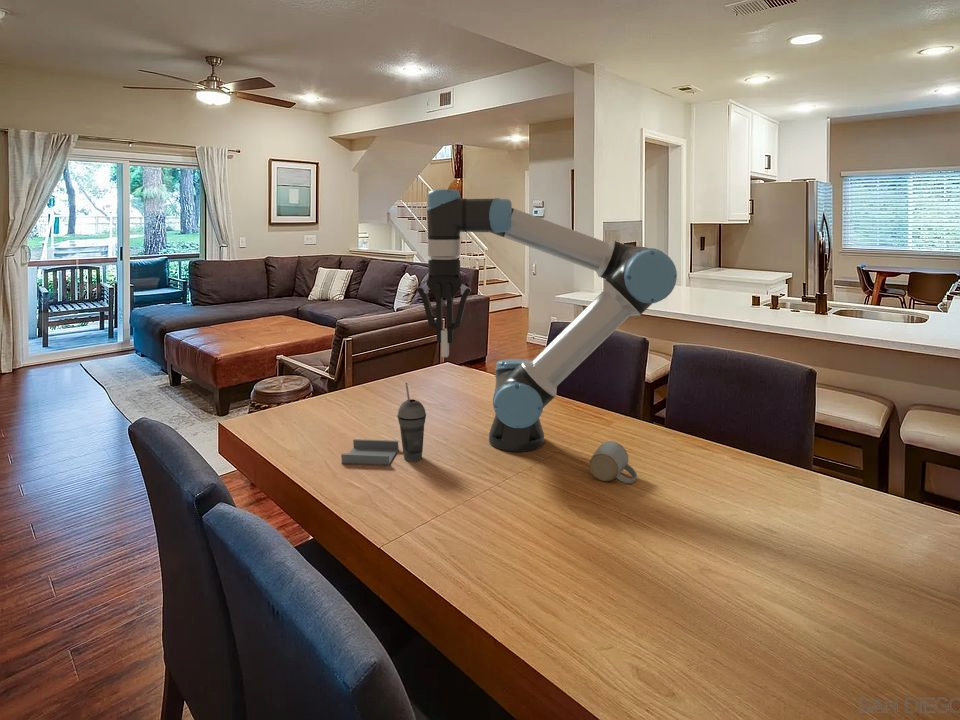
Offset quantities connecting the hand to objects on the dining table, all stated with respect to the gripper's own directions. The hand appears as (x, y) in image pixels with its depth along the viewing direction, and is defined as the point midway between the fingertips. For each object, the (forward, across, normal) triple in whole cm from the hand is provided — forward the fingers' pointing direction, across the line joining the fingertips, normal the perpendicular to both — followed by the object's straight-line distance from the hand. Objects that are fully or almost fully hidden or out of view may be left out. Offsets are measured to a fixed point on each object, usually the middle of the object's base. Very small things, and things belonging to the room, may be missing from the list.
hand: (445, 355), depth 143 cm
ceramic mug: (+27, -41, +6) cm, 50 cm away
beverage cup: (+27, +9, 0) cm, 29 cm away
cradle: (+27, +20, 0) cm, 34 cm away
